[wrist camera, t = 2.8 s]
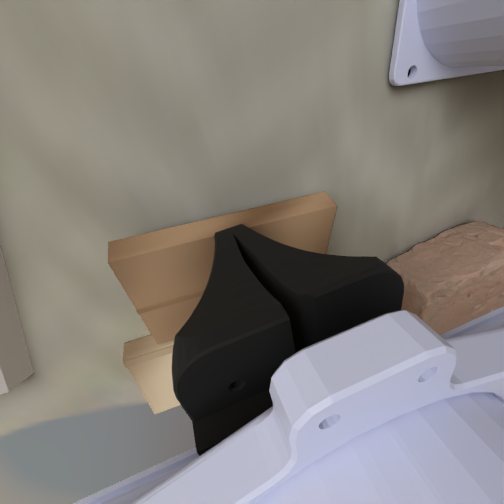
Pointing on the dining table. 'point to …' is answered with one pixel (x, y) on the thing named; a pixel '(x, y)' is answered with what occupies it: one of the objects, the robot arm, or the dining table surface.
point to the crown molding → (11, 338)
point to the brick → (454, 276)
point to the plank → (206, 256)
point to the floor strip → (152, 371)
